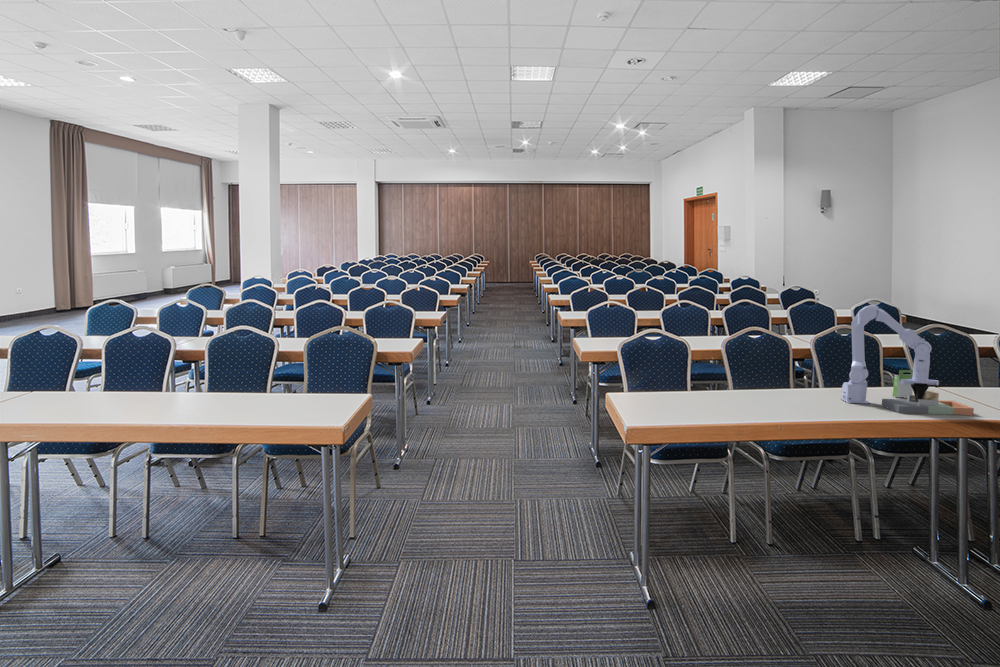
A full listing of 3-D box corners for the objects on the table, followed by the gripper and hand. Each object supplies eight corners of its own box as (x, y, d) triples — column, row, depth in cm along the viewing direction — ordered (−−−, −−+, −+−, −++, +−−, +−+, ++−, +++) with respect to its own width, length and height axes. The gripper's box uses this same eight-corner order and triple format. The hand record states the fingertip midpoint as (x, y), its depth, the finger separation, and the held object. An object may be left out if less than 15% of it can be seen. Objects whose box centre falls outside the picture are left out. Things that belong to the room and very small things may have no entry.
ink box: (907, 396, 306) (910, 368, 304) (912, 398, 302) (914, 370, 301) (892, 396, 307) (894, 368, 305) (896, 398, 303) (899, 369, 301)
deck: (898, 413, 274) (898, 406, 274) (881, 405, 288) (882, 398, 288) (973, 415, 272) (973, 408, 272) (952, 407, 286) (953, 400, 285)
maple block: (925, 404, 277) (926, 393, 277) (918, 401, 282) (920, 390, 282) (937, 404, 277) (938, 393, 276) (931, 402, 282) (932, 391, 281)
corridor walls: (919, 405, 275) (920, 399, 275) (907, 400, 285) (907, 394, 284) (938, 406, 275) (938, 400, 275) (925, 401, 284) (925, 395, 284)
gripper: (908, 371, 275) (905, 402, 276) (944, 372, 274) (941, 403, 275) (899, 368, 282) (896, 398, 283) (934, 369, 281) (931, 399, 282)
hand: (918, 401), depth 280 cm, fingers closed
